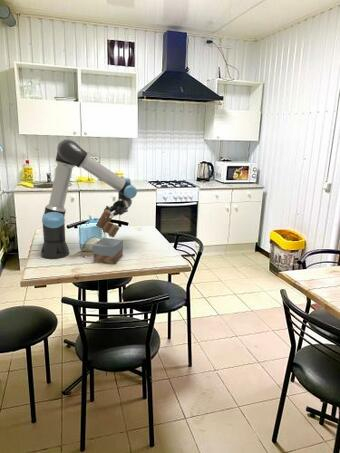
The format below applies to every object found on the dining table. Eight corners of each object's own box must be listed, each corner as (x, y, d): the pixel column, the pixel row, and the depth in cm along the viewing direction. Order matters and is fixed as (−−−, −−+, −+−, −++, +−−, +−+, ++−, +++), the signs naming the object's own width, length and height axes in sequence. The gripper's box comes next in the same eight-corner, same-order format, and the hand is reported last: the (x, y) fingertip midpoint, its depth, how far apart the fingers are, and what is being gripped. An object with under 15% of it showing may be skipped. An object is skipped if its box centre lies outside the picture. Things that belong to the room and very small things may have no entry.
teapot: (81, 234, 235) (81, 219, 232) (90, 228, 249) (89, 214, 246) (102, 236, 232) (101, 221, 230) (109, 229, 247) (109, 216, 244)
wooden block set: (115, 240, 184) (124, 225, 181) (101, 236, 179) (110, 221, 176) (106, 222, 197) (114, 208, 194) (93, 218, 192) (101, 203, 189)
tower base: (94, 263, 187) (93, 254, 185) (102, 254, 200) (102, 246, 198) (115, 265, 185) (115, 256, 184) (122, 256, 198) (122, 247, 197)
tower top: (92, 253, 186) (92, 245, 185) (103, 245, 199) (103, 237, 198) (113, 256, 183) (113, 247, 182) (122, 248, 196) (122, 240, 195)
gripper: (132, 213, 206) (122, 223, 184) (107, 211, 208) (94, 221, 186) (132, 201, 204) (122, 209, 182) (107, 199, 206) (94, 207, 184)
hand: (108, 215), depth 184 cm, fingers closed on wooden block set, 2 cm apart
